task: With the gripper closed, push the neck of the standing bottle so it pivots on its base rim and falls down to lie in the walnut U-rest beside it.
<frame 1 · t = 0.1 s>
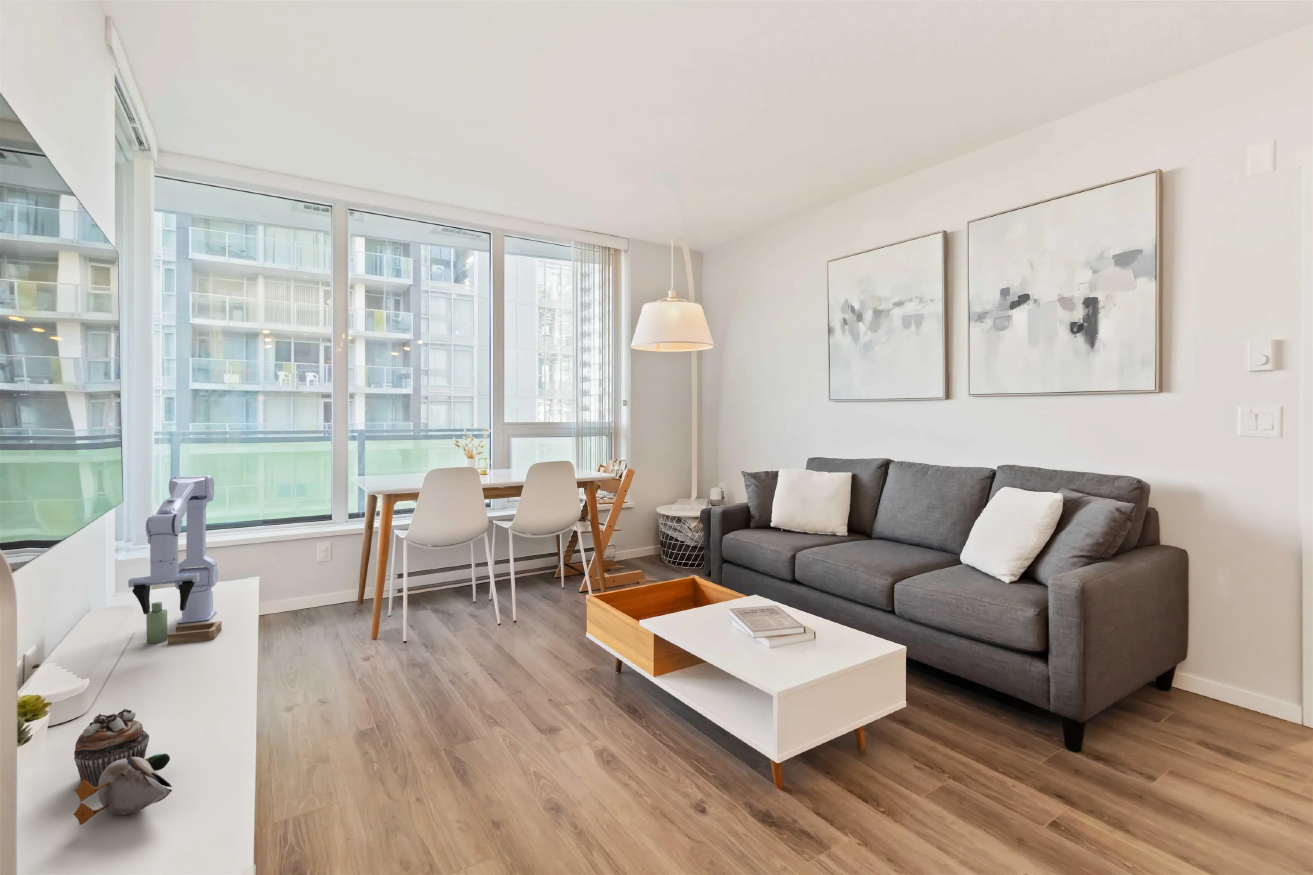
hand: (164, 611, 161), 10 cm above the table, fingers open, 7 cm apart
cupcake: (113, 774, 105), on the table
decorative duck model: (146, 803, 97), on the table
bottle: (157, 640, 167), on the table
u rest: (192, 636, 170), on the table
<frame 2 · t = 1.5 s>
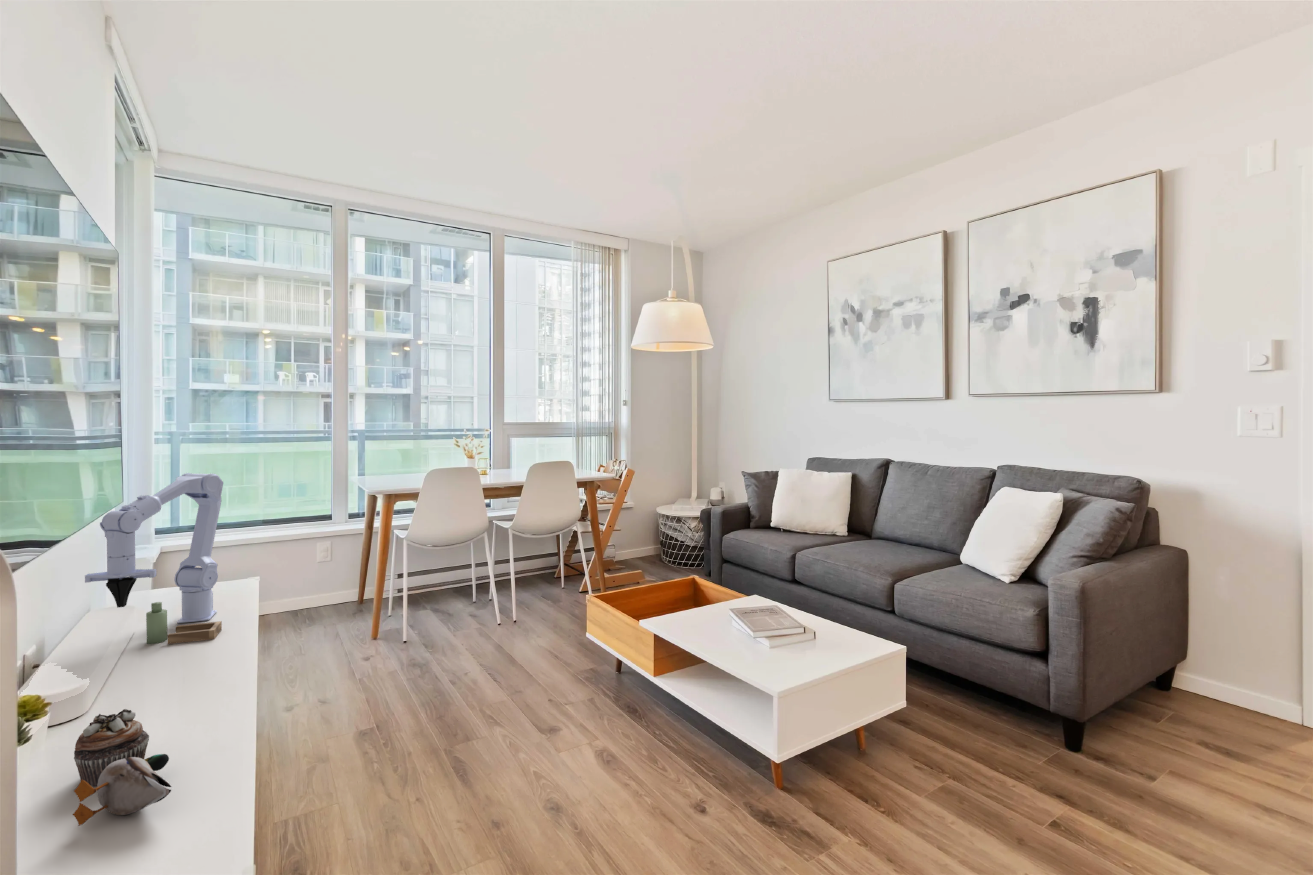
hand: (121, 606, 164), 10 cm above the table, fingers closed
nothing on the table moved.
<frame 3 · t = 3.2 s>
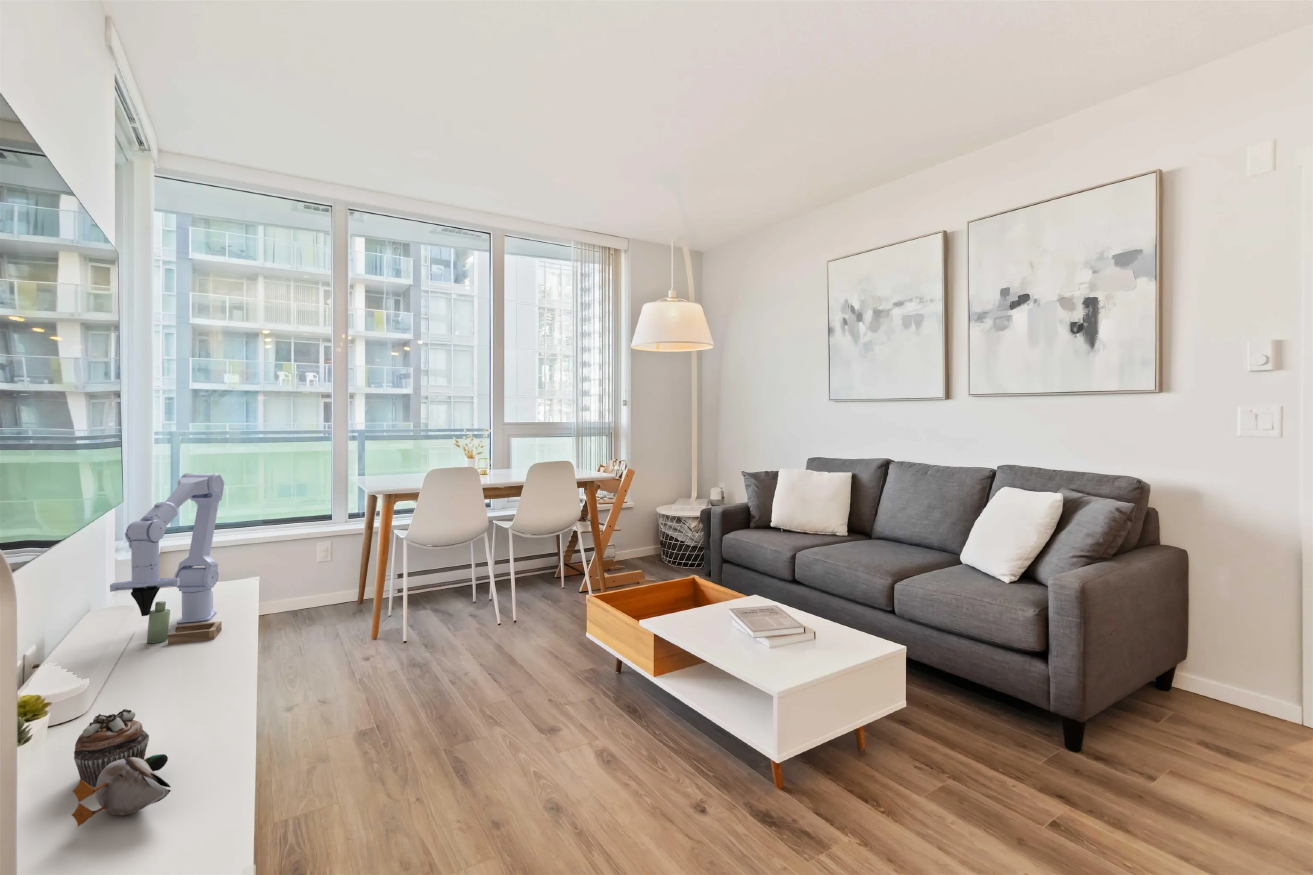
hand: (145, 614, 166), 7 cm above the table, fingers closed
bottle: (157, 640, 167), on the table, touching gripper
everything else where it was.
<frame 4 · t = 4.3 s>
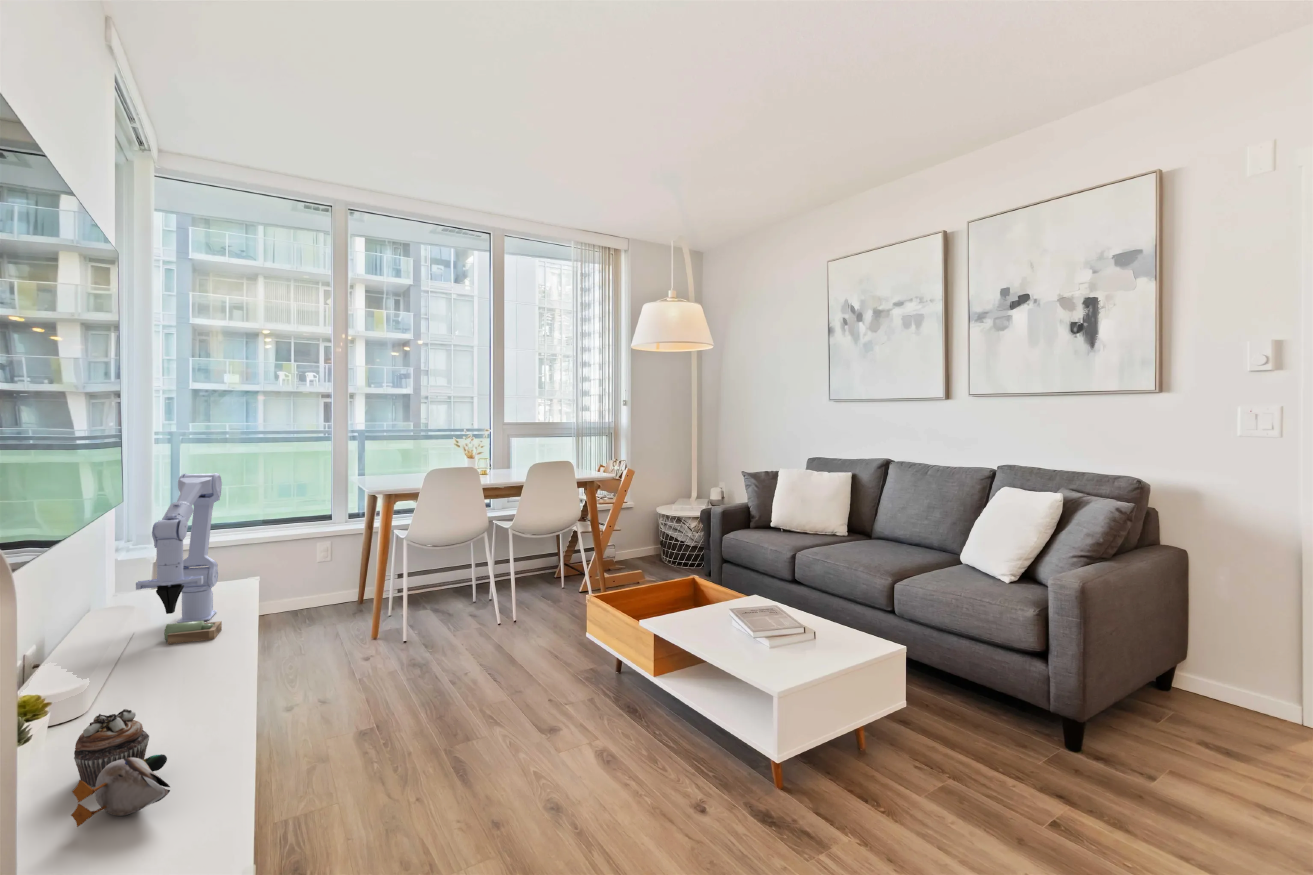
hand: (170, 612, 168), 7 cm above the table, fingers closed
bottle: (167, 632, 168), point 2 cm above the table, tilted 90°
everything else where it was.
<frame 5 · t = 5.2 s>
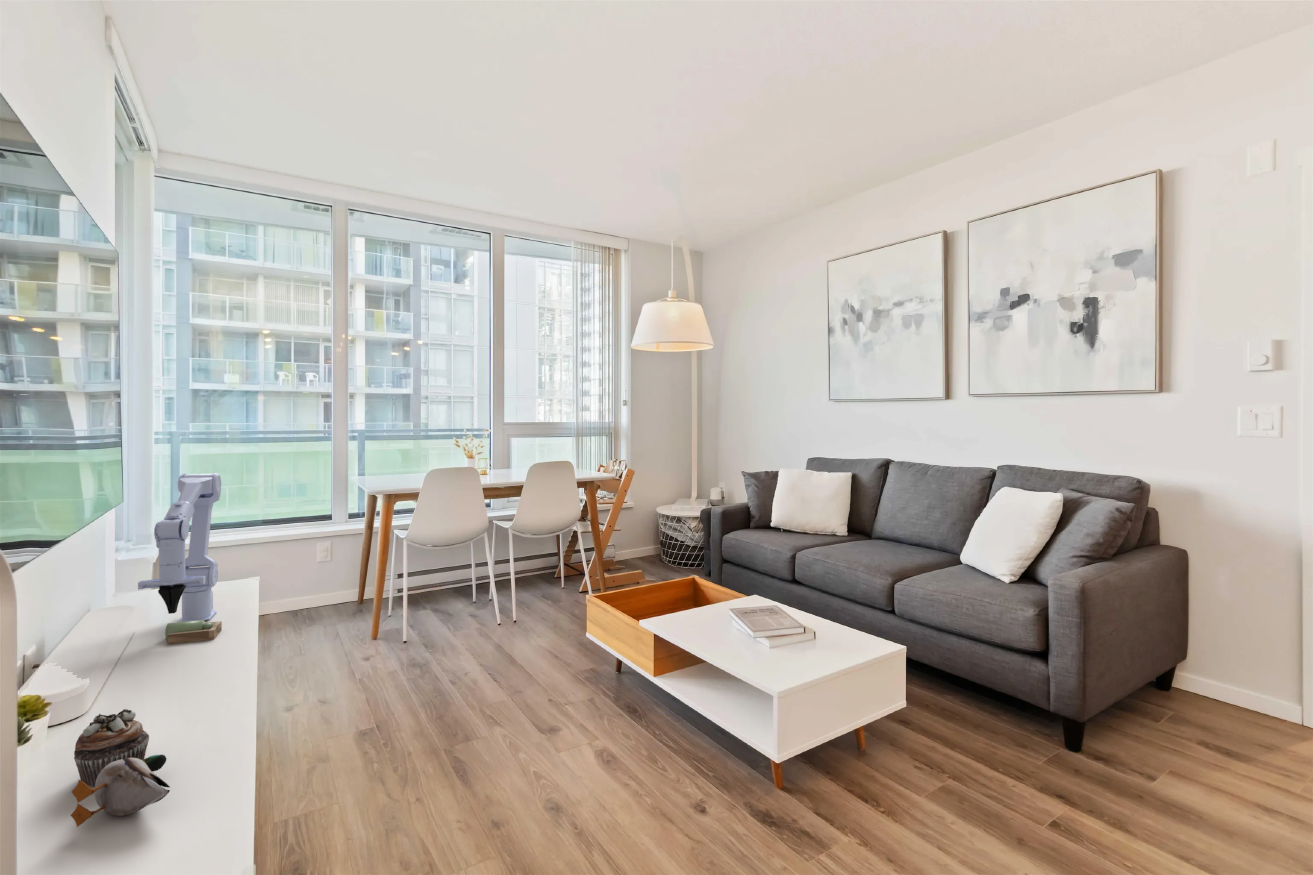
hand: (172, 612, 168), 7 cm above the table, fingers closed
nothing on the table moved.
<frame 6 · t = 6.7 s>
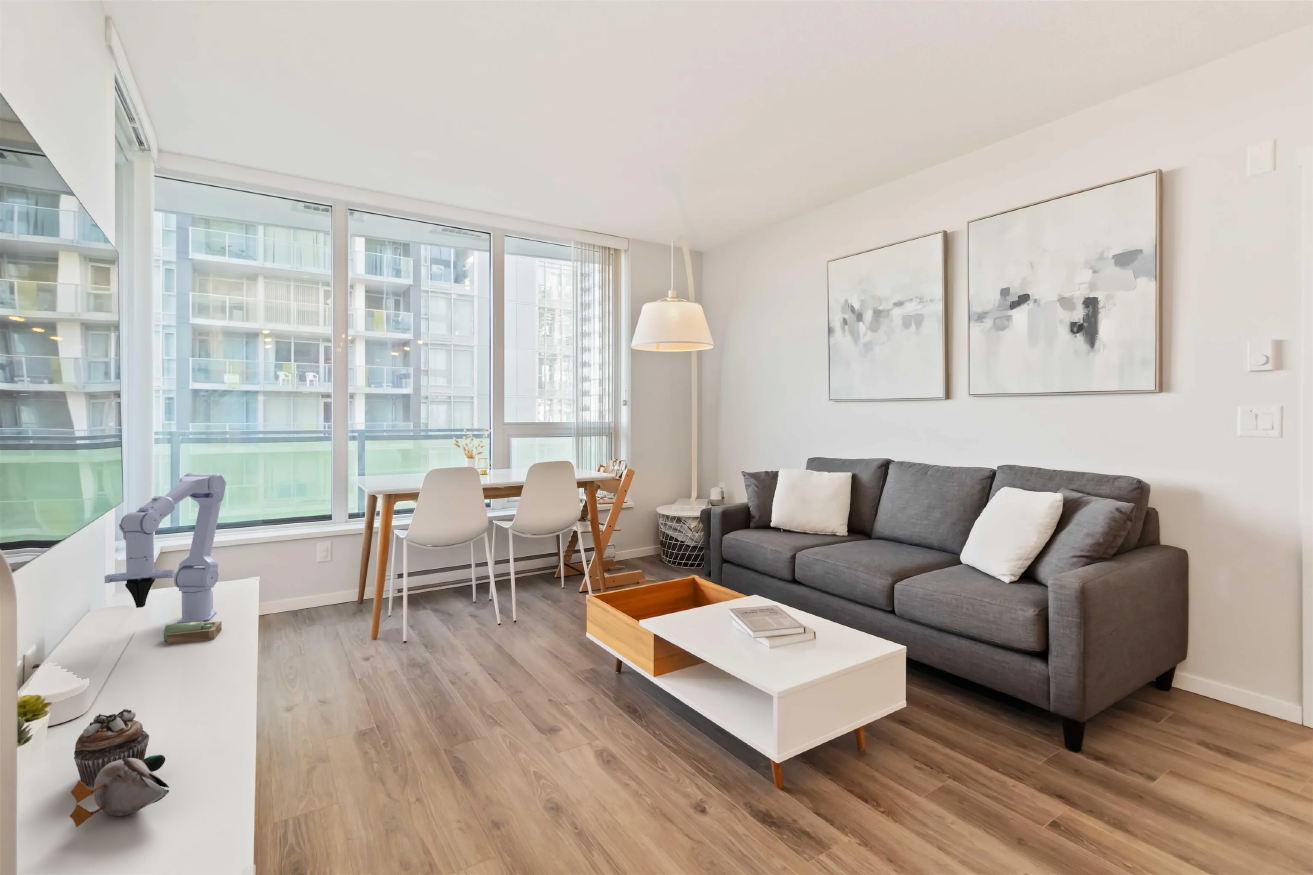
hand: (140, 606, 166), 10 cm above the table, fingers closed
bottle: (166, 632, 168), point 2 cm above the table, tilted 90°
everything else where it was.
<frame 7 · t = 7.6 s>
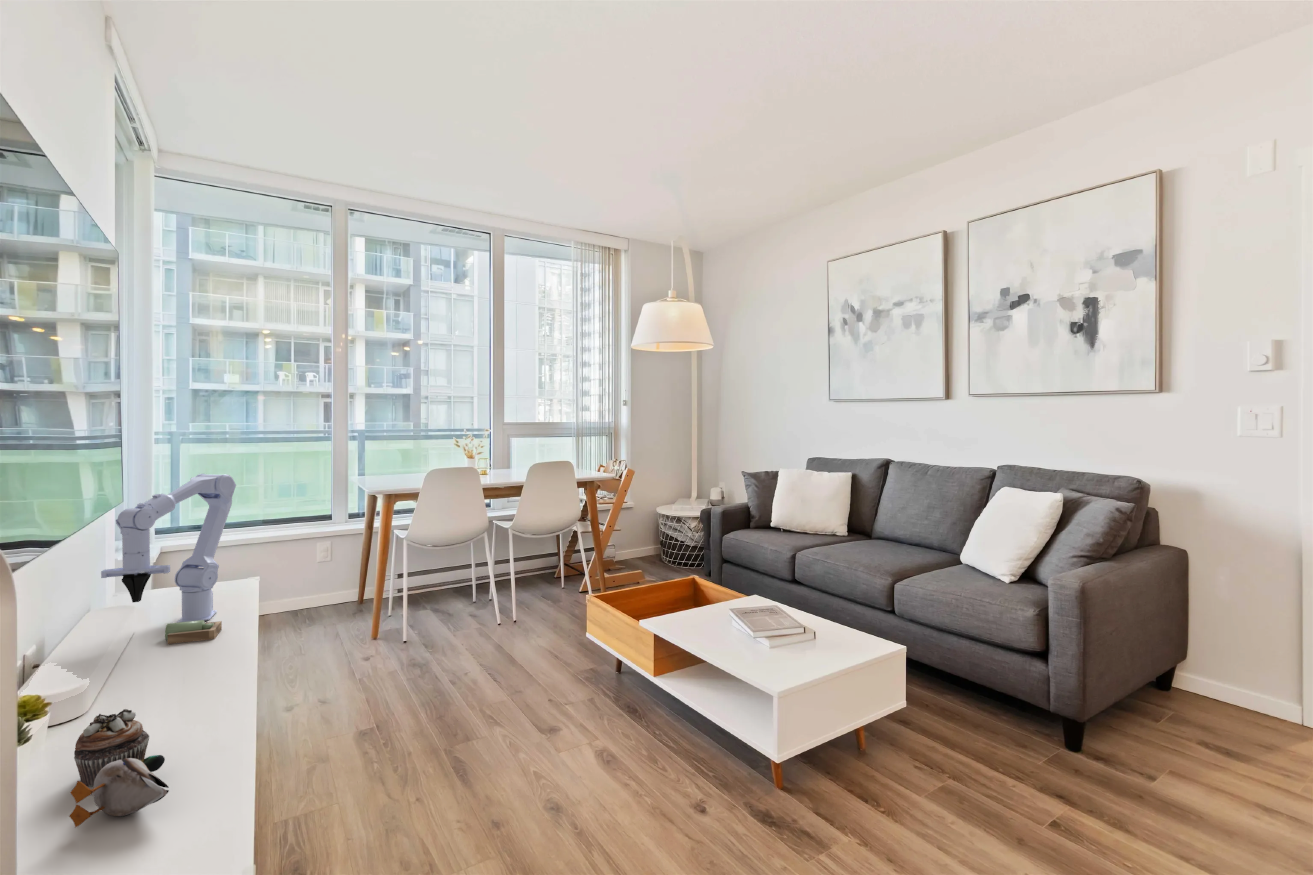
hand: (136, 601, 168), 10 cm above the table, fingers closed
bottle: (167, 631, 169), point 2 cm above the table, tilted 90°
everything else where it was.
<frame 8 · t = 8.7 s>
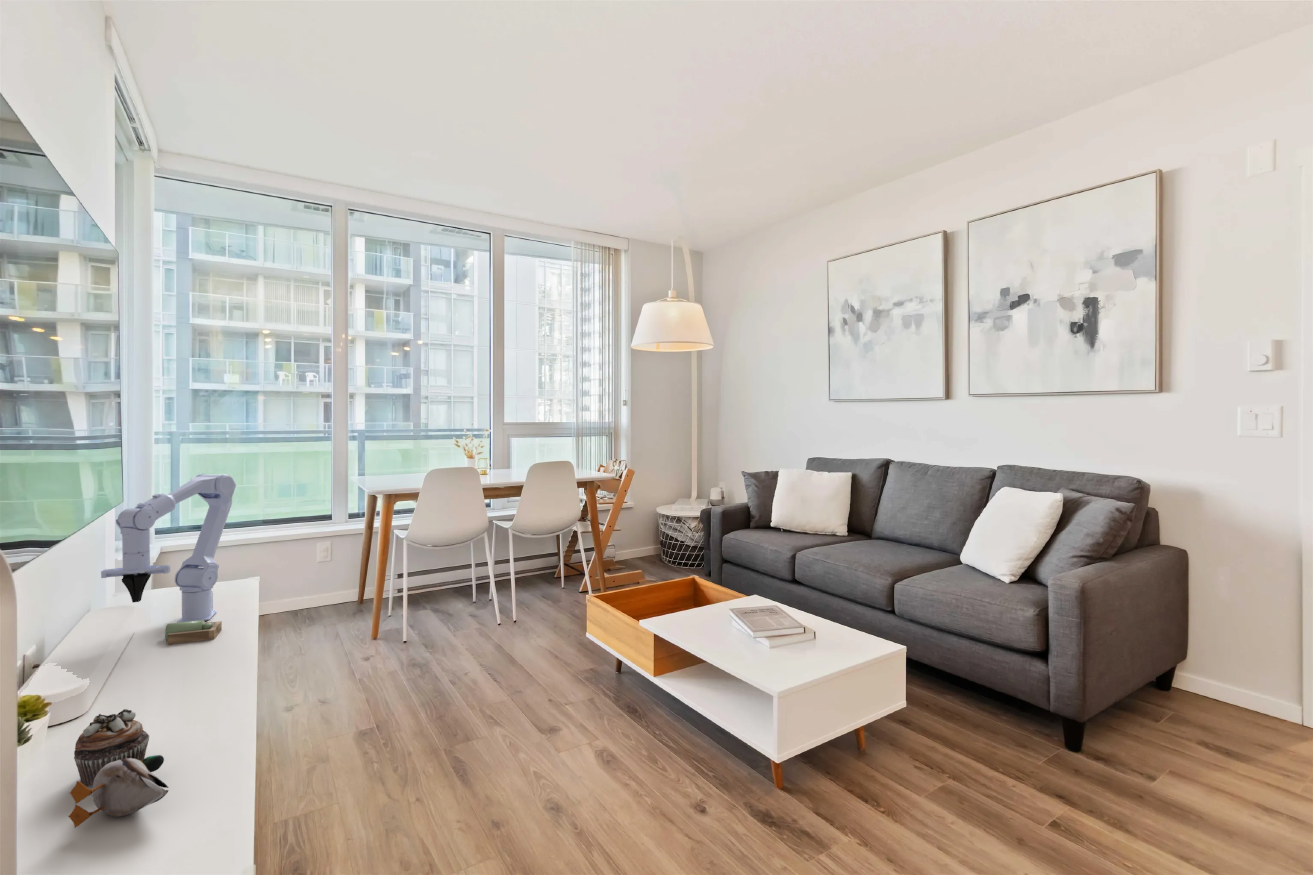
hand: (136, 601, 168), 10 cm above the table, fingers closed
nothing on the table moved.
at the end: bottle tilted 90°; bottle inside the target area (0.8 cm from its centre), point 2.1 cm above the table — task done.
